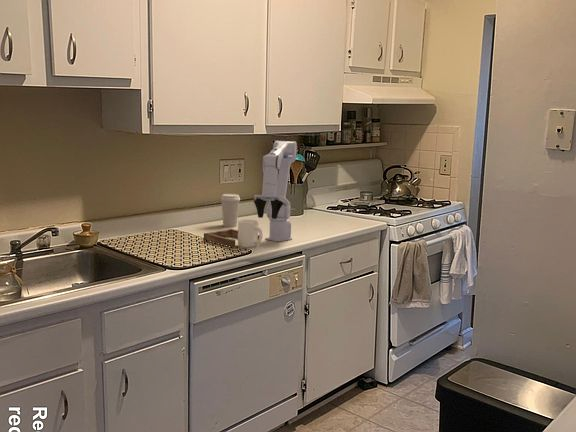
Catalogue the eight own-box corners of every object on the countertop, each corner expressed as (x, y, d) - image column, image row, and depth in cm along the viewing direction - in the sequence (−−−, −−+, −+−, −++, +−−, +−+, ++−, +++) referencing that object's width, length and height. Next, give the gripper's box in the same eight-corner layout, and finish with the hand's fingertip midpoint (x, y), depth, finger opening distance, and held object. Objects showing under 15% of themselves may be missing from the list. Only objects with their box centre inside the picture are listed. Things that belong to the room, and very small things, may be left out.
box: (231, 235, 261) (231, 228, 261) (260, 242, 250) (260, 235, 249) (203, 240, 249) (203, 233, 249) (232, 247, 238) (232, 240, 237)
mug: (268, 247, 242) (269, 222, 240) (254, 250, 235) (255, 225, 233) (247, 242, 249) (247, 218, 247) (233, 245, 243) (234, 220, 241)
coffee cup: (216, 224, 284) (216, 194, 282) (233, 223, 290) (233, 193, 287) (226, 228, 277) (227, 196, 274) (243, 226, 283) (244, 195, 280)
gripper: (250, 183, 237) (247, 216, 237) (276, 183, 227) (273, 218, 227) (262, 184, 242) (259, 217, 242) (288, 185, 232) (285, 219, 232)
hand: (267, 218), depth 235 cm, fingers open, 7 cm apart
